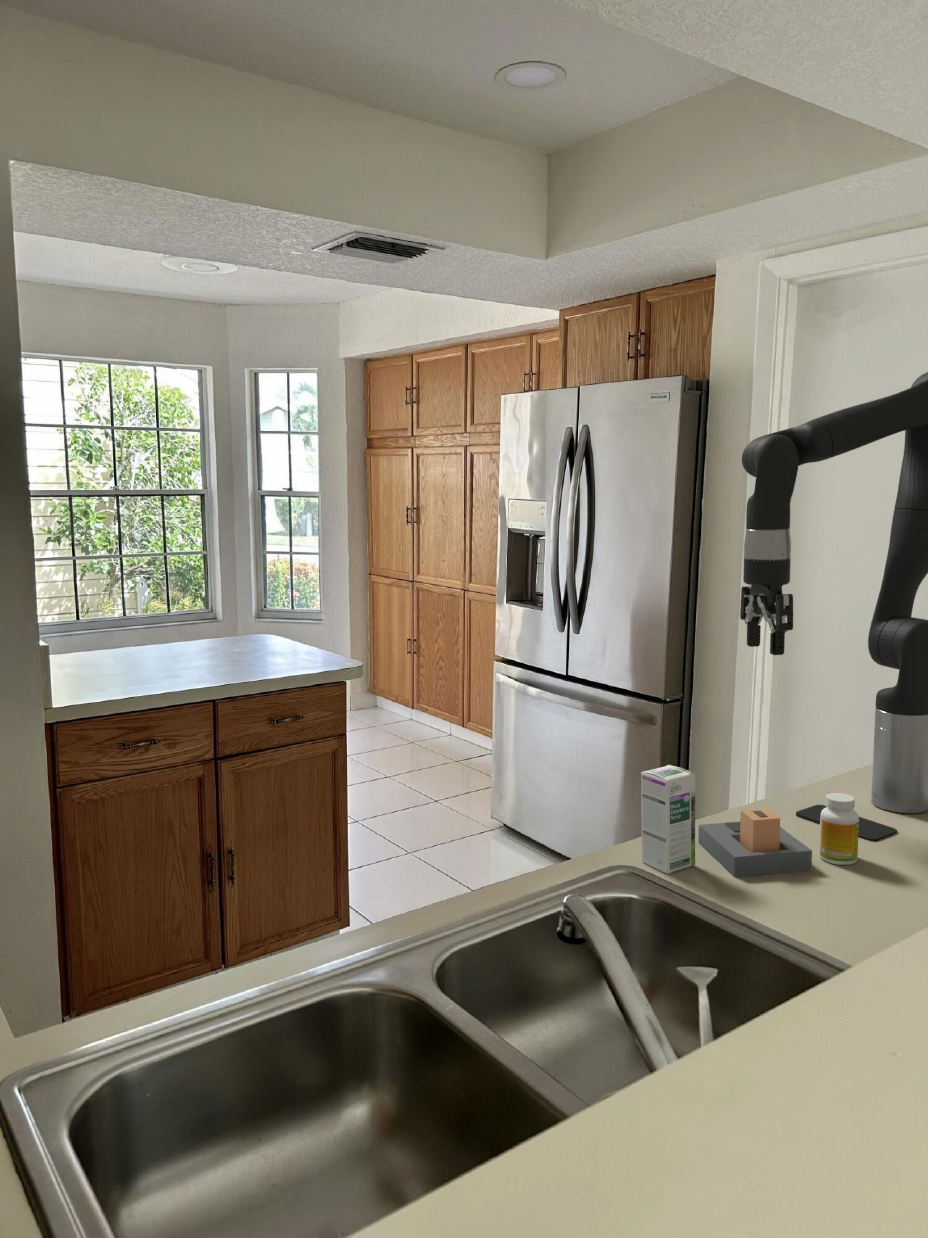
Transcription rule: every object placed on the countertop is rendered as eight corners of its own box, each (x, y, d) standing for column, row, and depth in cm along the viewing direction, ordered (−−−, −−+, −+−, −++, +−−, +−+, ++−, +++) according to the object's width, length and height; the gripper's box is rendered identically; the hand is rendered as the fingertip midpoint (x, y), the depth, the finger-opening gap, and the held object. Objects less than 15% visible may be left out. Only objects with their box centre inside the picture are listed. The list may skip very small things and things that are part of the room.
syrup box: (667, 875, 133) (669, 779, 131) (639, 861, 138) (640, 769, 136) (695, 866, 136) (697, 772, 134) (667, 853, 141) (668, 762, 139)
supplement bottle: (860, 867, 135) (863, 804, 133) (822, 864, 136) (824, 802, 134) (853, 852, 140) (855, 792, 139) (816, 850, 141) (818, 790, 140)
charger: (765, 852, 140) (766, 807, 139) (778, 863, 136) (780, 817, 135) (739, 854, 139) (740, 809, 138) (752, 865, 135) (753, 819, 134)
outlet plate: (769, 837, 147) (769, 818, 146) (811, 870, 134) (812, 849, 134) (698, 842, 145) (698, 823, 145) (734, 876, 132) (734, 855, 132)
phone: (873, 840, 144) (792, 812, 156) (873, 845, 144) (792, 817, 156) (900, 830, 148) (819, 803, 160) (900, 834, 148) (819, 808, 160)
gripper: (809, 558, 147) (806, 656, 150) (767, 552, 161) (765, 642, 164) (766, 559, 146) (763, 659, 149) (727, 553, 160) (726, 644, 163)
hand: (764, 650), depth 156 cm, fingers open, 8 cm apart
